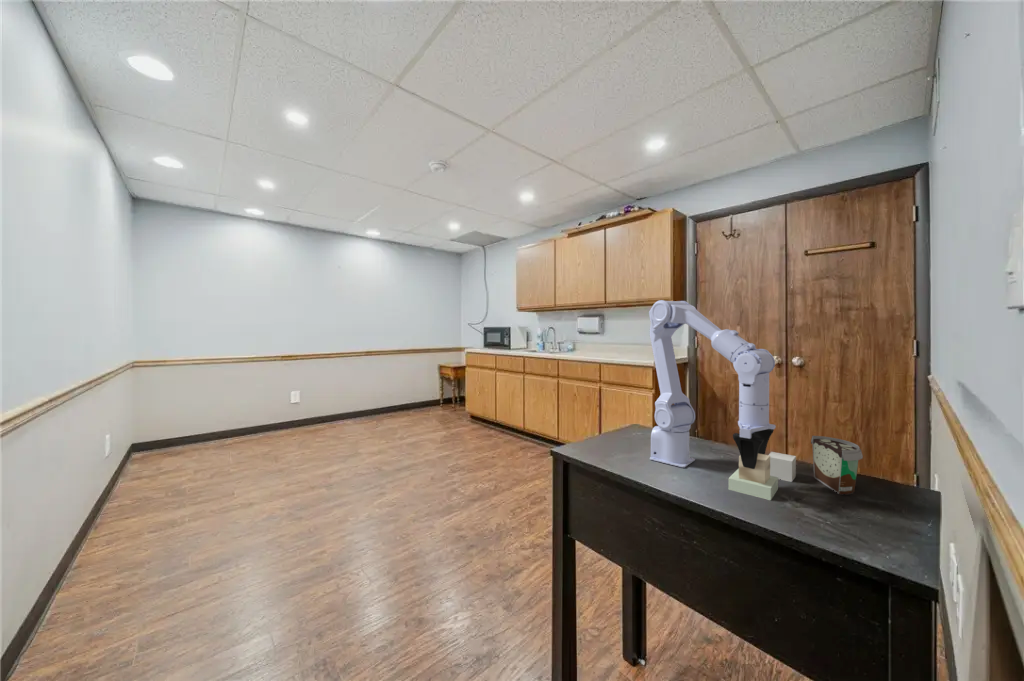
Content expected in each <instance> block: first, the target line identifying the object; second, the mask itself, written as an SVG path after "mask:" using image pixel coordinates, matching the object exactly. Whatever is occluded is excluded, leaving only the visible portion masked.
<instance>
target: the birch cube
mask: <svg viewBox="0 0 1024 681" xmlns="http://www.w3.org/2000/svg"><path fill="white" fill-rule="evenodd" d="M738 469H739V478H741V479H745V480H749V481H754V482H758V483H762V484H765V483H766V482H767V481H768V480H769V478H770V456H769V454H765V455H764V454H759V453H758V457H757V463H756V466H755V469H751V468H746V467H743V464H742V460H741V456H740V455H738Z"/></svg>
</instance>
